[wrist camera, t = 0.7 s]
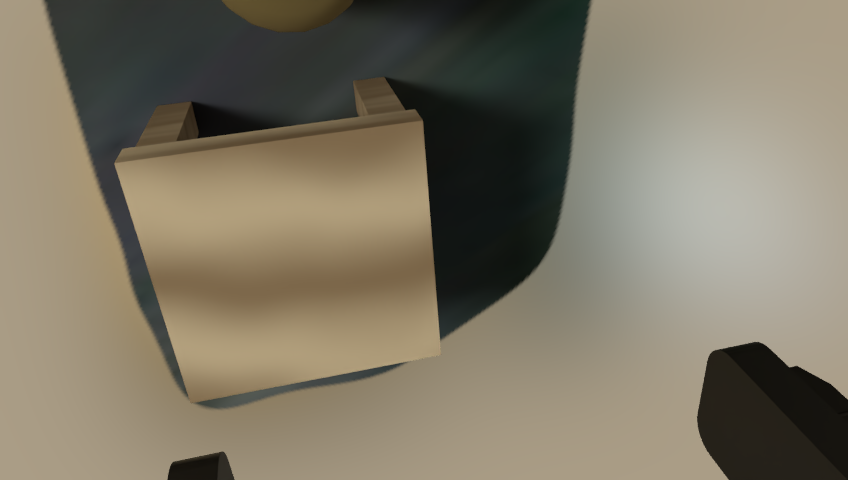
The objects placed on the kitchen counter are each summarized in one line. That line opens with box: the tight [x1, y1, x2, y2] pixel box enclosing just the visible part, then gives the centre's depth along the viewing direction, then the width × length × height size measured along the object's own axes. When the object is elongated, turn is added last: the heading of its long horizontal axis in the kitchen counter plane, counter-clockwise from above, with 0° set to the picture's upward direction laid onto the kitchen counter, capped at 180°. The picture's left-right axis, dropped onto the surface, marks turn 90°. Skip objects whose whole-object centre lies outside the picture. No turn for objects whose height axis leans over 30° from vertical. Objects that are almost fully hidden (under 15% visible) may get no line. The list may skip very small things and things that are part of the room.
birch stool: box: [114, 77, 441, 403], centre depth 30 cm, size 11×11×8 cm
